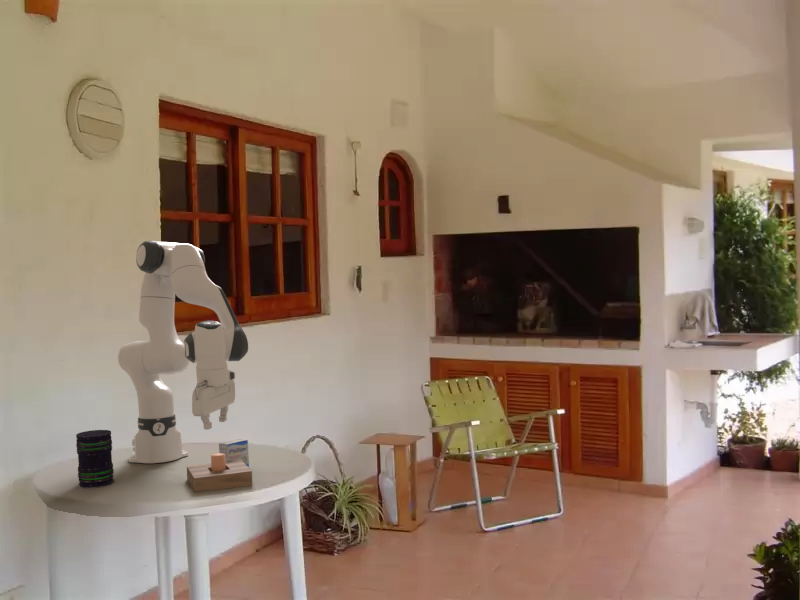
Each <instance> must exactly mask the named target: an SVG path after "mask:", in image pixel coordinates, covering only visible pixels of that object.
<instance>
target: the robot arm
mask: <svg viewBox="0 0 800 600" xmlns="http://www.w3.org/2000/svg"><path fill="white" fill-rule="evenodd" d="M135 258H136V265H137V267H138V269H139V270H140V271H141V272H144V275H143V279H142V284H141V289H140V295H139V296H140V297H139V298H140V299H139V312H138V319H139V320H138V321H139V323H140V324H141V325H142V326H143V328H146V330H147V331H148V334H149V340H136V341H131V342H128V343H125V344H123V345H122V346H121V347H120V349H119V352H118V356H117V359H118V364H119V366H120V367H121V369H122V370H123V371H124V372H125V373H126V374H127V375H128V376H129V378H130V380H131V382H132V383H133V386H134V388H135V391H136V397H137V404H138V407H137V408H138V418H137V428H138V431H137V433H135V435H134V437H133V439H132V441H131V443H132V444H131V445H132V448H133V449H132V450H133V452H132V454H131V455H130V456H129V458H128V462H129V463H139V464H157V463H158V464H160V463H167V462H172V461H176V460H179V459H181V458H184V457H187V456H189V452H188V451H186V450H184V449H183V441H182V440H183V439H182V431H180V430H179V429H178V428H177V427H176V426H177V419H176V414H175V410H174V409H175V408H174V407H175V406H174V405H175V404H174V394H173V390H172V389H171V388H170V387H169V386H168V385H166V383H165V382H163V379H162V377H161V375H174V374H179V373H182V372H184V371H185V370H186V369H187V368H188V366H189V364H190V362H191V363H192V364H196V366H195V373H196V386H195V387H194V389H193V391H192V395H191V396H192V397H191V412H192V414H193V415H192V416H194V417H200V419H201V422H202V424H203V429H204V430H207V431H208V430H211V429H212V427H213V426H212V423H213V422H211V421H210V416H211V415H210V414H212V413H214V412H216V411H218V410H220V414H219V415H218V422H220V423H225V422H226V421H227V420H228V419H227V418H228V417H227V415H228V411H229V405H231V404H234V402H235V399H236V385H235V384H236V383H235V379H236V373H235V371H233V370H230V369H229V368H228V363H227V362H239V361H241V360H242V359H243V358H244V357H245V356H246V355H247V353H248V351H249V341H248V338H247V334H246V332H245V331H244V330H243V328H242V327H241V325H240V322H239V321H238V319H237V316H236V315H235V313H234V311H233V308H232V306H231V303H230V302H229V299H228V298H227V296H226V294H225V292H224V290H223V289H222V287H221V286H219V285H217V284H215V283H214V282H213V281H212V280H211V279H210V277H209V276H208V273H207V271H206V266H205V263H206V257H205V254H204V251H203V250H202V249H200V248H199V247H197V246H194V245H193V244H190V243H180V242H174V241H173V242H169V241H156V240H145V241H143V242H142V243H141V244H140V245H139V246H138V248H137V251H136V256H135ZM176 297H177V298H178V299H180V300H181V301H183V302H185V303H186V304H190V305H195V306H200V307H204V308H207V309H210V310H212V311H213V312H214V313H215V314H216V316H217V318H218V320H219V321H220V322H219V321H216V320H203V321H200V322H198V323H196V324H195V328H194V331H193V332H190V333H189V334H187V336H186V337H185V338H184V340H183V341H181V339H180V337H179V335H178V333H177V329H176V325H175V305H176V304H175V303H176Z"/></svg>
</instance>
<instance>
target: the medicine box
mask: <svg viewBox="0 0 800 600" xmlns="http://www.w3.org/2000/svg"><path fill="white" fill-rule="evenodd" d="M218 450H219V451H218V452H219V453H223V454H225V461H234V460H242V461H243V462H244V463H245V464H246V465H247V466H248V468H249V467H250V463H249V462H250V459H249V440H248V439H244V438H238V439H234V440H228V441H224V442H220V443H218Z"/></svg>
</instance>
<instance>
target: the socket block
mask: <svg viewBox="0 0 800 600" xmlns="http://www.w3.org/2000/svg"><path fill="white" fill-rule="evenodd" d="M225 464H226V470H221V471H213V472H212V469H211V462H209V463H203V464H193V465H187V466H186V474H187V475H186V479H187V481H188V483H189V485H190V487H191V489H192V490H193V491H194V493H201V492H211V491H218V490H224V489H231V488H241V487H247V486H253V470H251V468H249V467H248V466H247V465H246V464H245V463H244V462H243V461H242V460H234V461H225Z"/></svg>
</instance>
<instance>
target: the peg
mask: <svg viewBox="0 0 800 600" xmlns="http://www.w3.org/2000/svg"><path fill="white" fill-rule="evenodd" d="M210 461H211V462H210V463H211V469H212V472H213V471H221V470H226V464H225V454H223V453H214V454H213V453H212V454H210Z"/></svg>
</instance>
